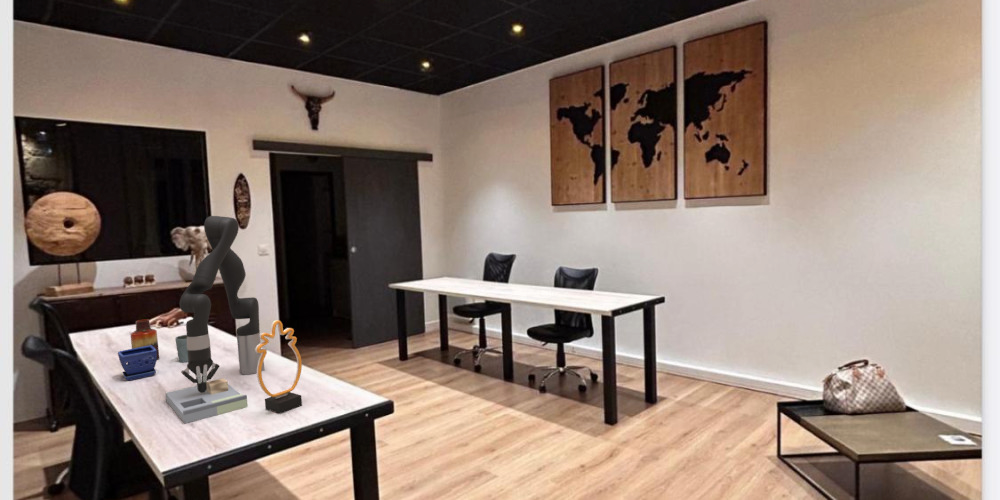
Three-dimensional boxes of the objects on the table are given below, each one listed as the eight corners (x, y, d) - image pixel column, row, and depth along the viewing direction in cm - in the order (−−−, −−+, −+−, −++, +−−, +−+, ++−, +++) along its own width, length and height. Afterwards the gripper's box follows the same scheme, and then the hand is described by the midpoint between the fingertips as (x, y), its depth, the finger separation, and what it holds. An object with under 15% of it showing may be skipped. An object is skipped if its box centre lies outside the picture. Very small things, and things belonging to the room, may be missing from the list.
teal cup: (187, 357, 262) (185, 333, 261) (205, 357, 260) (203, 333, 259) (172, 363, 252) (170, 339, 251) (191, 363, 250) (189, 338, 249)
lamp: (269, 417, 178) (261, 326, 175) (254, 413, 183) (247, 324, 180) (311, 401, 192) (305, 317, 189) (297, 397, 197) (290, 315, 194)
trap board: (222, 386, 213) (222, 376, 213) (247, 406, 189) (246, 395, 189) (165, 400, 200) (164, 389, 199) (184, 423, 176) (183, 411, 176)
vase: (149, 363, 253) (145, 322, 251) (127, 364, 253) (123, 323, 252) (164, 357, 264) (160, 317, 262) (143, 357, 264) (139, 318, 262)
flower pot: (123, 383, 224) (120, 356, 223) (119, 376, 234) (117, 350, 233) (159, 375, 232) (157, 349, 231) (154, 369, 242) (152, 344, 241)
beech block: (224, 386, 204) (223, 378, 203) (228, 390, 199) (227, 381, 199) (207, 390, 200) (206, 382, 199) (211, 394, 195) (210, 385, 195)
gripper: (180, 352, 187) (184, 399, 189) (220, 344, 196) (224, 389, 198) (176, 348, 193) (180, 394, 194) (215, 341, 202) (219, 385, 203)
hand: (202, 391), depth 196 cm, fingers closed
